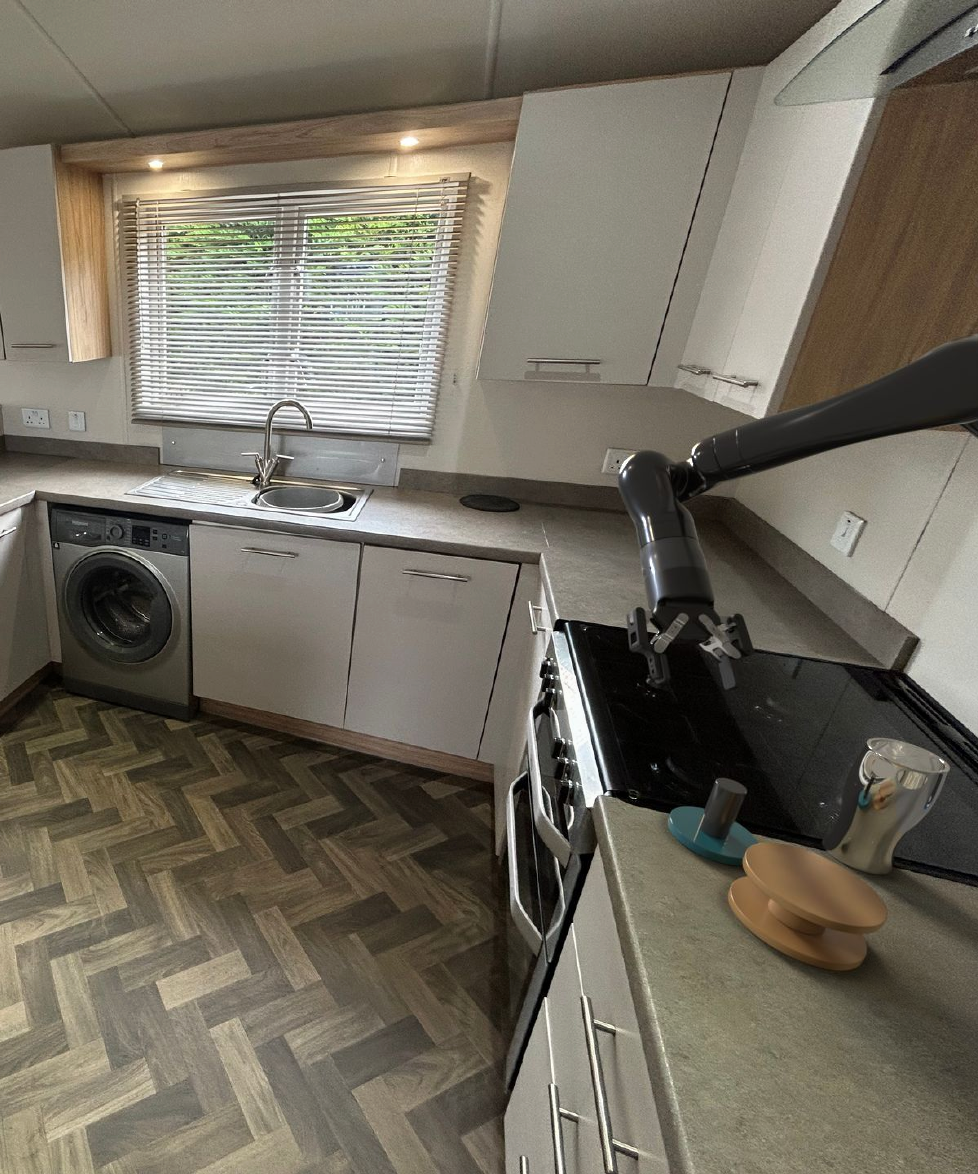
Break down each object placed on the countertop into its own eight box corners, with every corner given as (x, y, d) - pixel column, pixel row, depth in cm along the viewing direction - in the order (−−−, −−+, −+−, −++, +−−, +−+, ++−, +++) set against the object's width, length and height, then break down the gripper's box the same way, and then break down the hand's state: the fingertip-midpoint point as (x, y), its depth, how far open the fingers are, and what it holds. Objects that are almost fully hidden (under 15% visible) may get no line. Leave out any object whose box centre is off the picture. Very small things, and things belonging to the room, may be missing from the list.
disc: (726, 817, 83) (747, 766, 80) (774, 869, 75) (800, 815, 72) (653, 810, 84) (670, 759, 81) (692, 861, 76) (714, 806, 73)
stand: (809, 888, 72) (829, 848, 70) (894, 978, 62) (921, 933, 60) (705, 877, 74) (721, 837, 71) (772, 962, 63) (793, 919, 61)
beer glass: (809, 827, 81) (855, 729, 76) (883, 848, 78) (937, 748, 73) (825, 862, 76) (876, 760, 70) (905, 887, 72) (965, 781, 67)
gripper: (635, 561, 87) (656, 673, 81) (748, 567, 86) (778, 682, 79) (608, 583, 94) (625, 688, 88) (711, 589, 92) (737, 697, 86)
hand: (698, 685), depth 83 cm, fingers open, 8 cm apart
